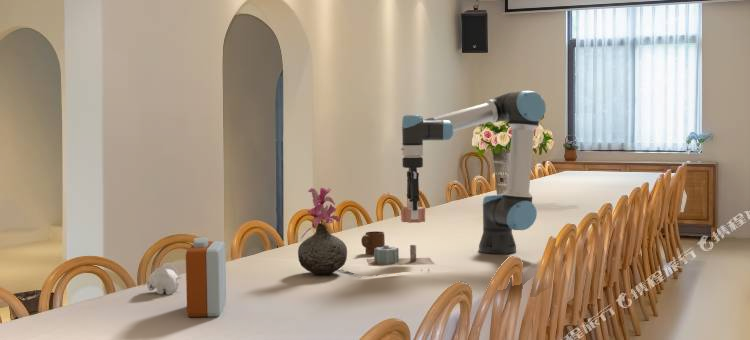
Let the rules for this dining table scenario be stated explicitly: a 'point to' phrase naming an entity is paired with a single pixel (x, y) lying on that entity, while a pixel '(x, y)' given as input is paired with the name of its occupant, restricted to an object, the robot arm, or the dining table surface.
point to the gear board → (404, 259)
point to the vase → (322, 240)
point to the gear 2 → (407, 215)
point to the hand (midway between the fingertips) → (413, 217)
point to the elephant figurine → (164, 279)
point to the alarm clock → (205, 278)
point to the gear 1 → (386, 255)
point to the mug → (373, 241)
